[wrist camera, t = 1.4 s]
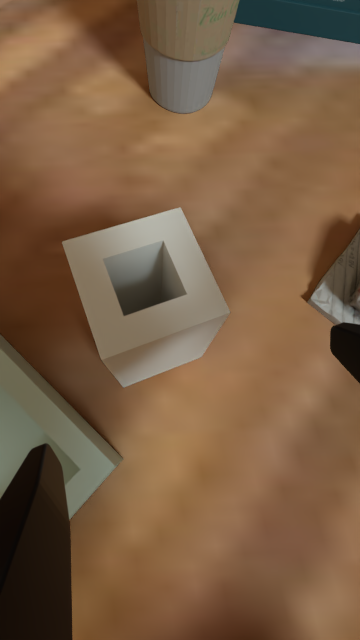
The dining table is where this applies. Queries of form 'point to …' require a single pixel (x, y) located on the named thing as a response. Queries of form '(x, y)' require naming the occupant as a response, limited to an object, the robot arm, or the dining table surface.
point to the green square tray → (47, 430)
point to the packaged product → (341, 287)
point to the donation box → (304, 17)
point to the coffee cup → (184, 48)
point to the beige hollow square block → (146, 294)
